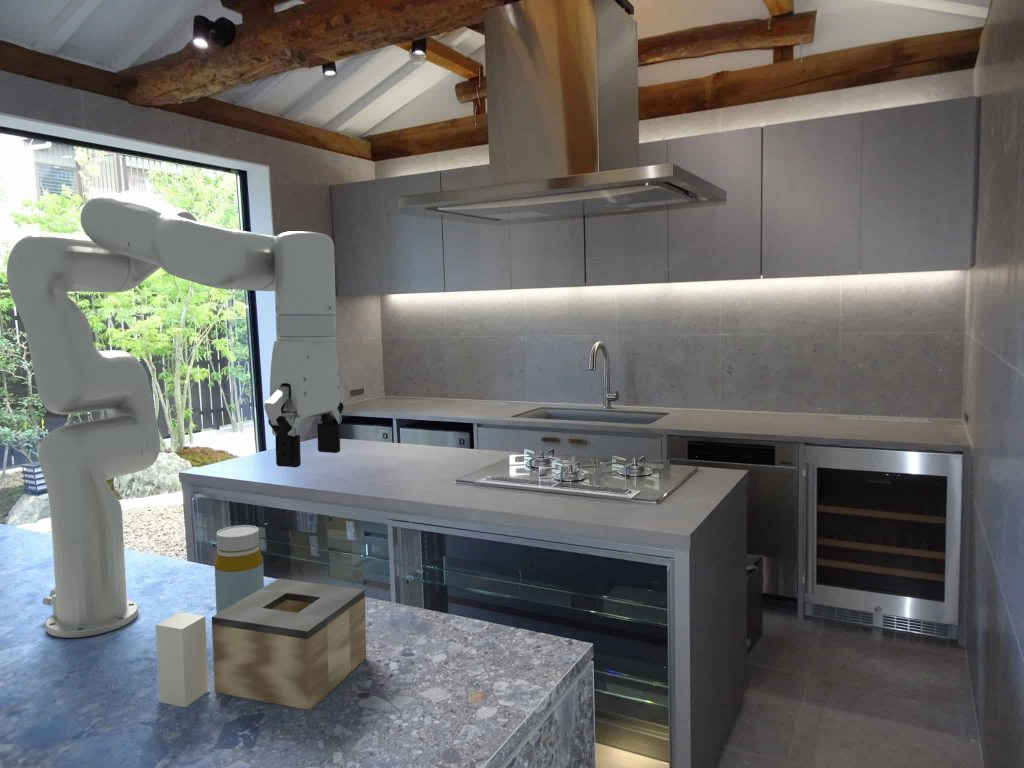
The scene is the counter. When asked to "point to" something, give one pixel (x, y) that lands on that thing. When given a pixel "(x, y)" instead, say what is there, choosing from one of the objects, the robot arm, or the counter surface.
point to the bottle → (237, 565)
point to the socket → (289, 642)
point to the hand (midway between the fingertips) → (309, 458)
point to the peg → (182, 659)
